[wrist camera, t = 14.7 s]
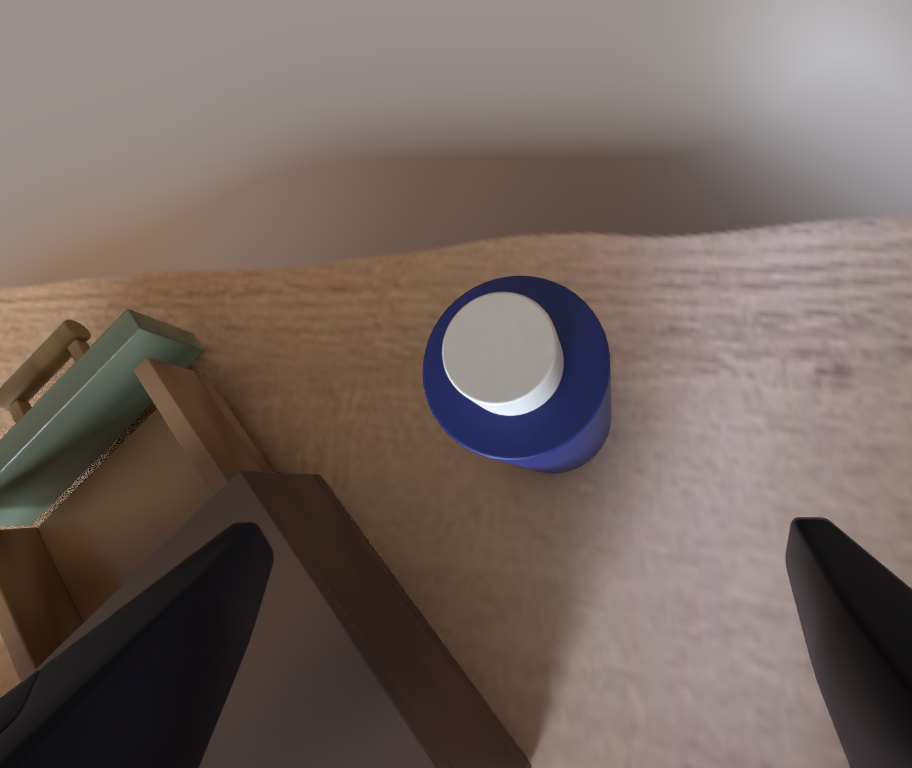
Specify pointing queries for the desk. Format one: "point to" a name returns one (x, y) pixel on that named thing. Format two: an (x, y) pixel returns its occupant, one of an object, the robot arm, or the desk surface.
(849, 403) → the desk surface
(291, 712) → the cabinet
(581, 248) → the desk surface
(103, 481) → the drawer
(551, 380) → the glue bottle
